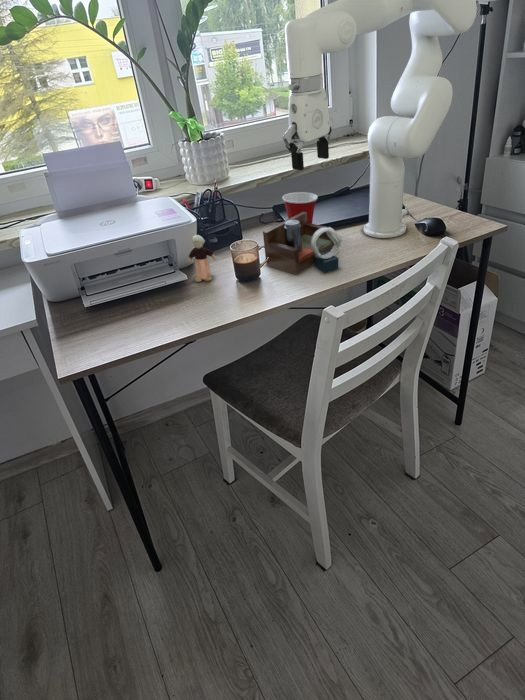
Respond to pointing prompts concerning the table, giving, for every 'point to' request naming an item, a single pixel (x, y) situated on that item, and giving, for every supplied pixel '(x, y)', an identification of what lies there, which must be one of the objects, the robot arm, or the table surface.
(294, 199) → the plastic cup
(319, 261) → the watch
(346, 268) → the table surface
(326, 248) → the sofa
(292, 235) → the pepper pot
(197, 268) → the grandmother figurine
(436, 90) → the robot arm
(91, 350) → the table surface
